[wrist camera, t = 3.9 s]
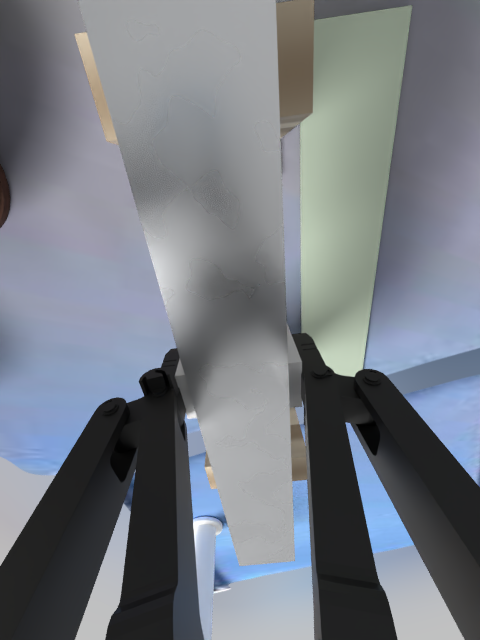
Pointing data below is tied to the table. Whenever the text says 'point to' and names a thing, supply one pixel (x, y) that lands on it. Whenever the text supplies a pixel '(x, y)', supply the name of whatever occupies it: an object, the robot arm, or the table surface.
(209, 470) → the cradle posts
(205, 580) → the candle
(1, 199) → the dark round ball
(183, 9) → the rail
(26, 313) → the table surface
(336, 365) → the mat
